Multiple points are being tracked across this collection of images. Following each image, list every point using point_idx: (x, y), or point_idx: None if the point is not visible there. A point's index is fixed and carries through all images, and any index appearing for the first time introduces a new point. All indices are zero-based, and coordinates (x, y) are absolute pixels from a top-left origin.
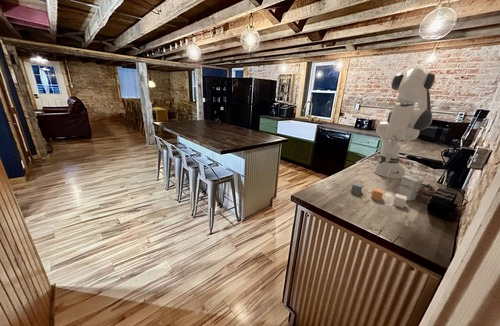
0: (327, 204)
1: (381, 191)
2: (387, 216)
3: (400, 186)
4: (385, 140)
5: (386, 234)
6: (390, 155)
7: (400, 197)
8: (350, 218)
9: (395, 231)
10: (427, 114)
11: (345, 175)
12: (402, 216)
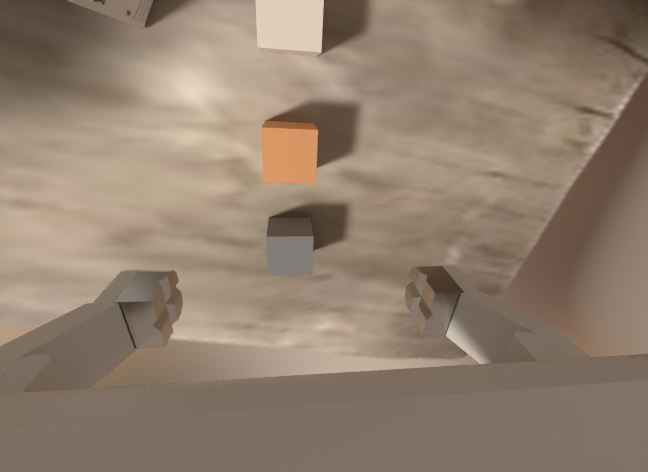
0: None
1: (295, 140)
2: (467, 86)
3: (109, 6)
4: None
5: (607, 88)
6: (566, 356)
7: (311, 17)
8: (535, 212)
9: (580, 52)
10: None
11: None
12: (434, 8)
